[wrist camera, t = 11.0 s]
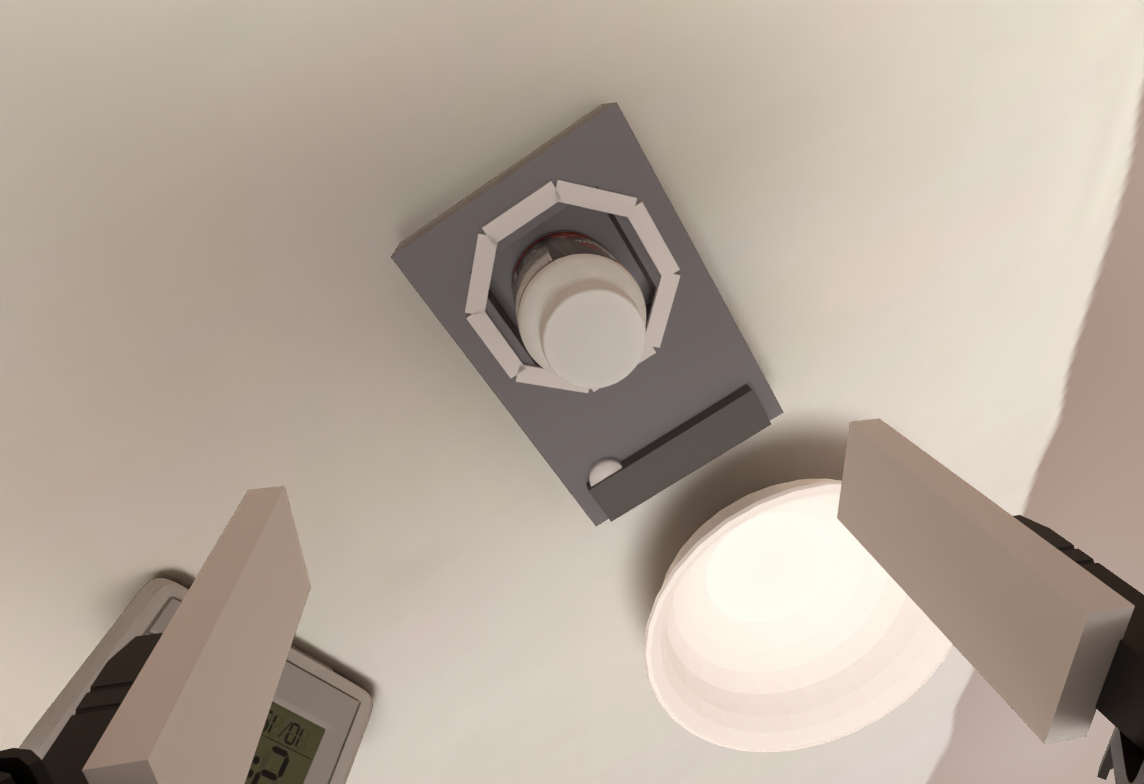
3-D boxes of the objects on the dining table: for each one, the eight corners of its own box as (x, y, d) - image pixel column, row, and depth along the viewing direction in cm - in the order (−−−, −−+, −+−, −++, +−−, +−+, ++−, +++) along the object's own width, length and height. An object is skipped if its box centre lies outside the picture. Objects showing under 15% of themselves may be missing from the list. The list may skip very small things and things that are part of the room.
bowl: (933, 601, 47) (998, 669, 41) (685, 715, 48) (714, 797, 42) (867, 375, 39) (935, 420, 33) (571, 518, 40) (587, 585, 34)
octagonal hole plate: (399, 243, 32) (388, 260, 28) (602, 104, 31) (620, 102, 27) (586, 493, 39) (598, 534, 36) (757, 387, 38) (789, 418, 34)
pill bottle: (633, 257, 33) (691, 310, 24) (584, 347, 35) (621, 428, 26) (540, 208, 32) (565, 244, 23) (492, 304, 33) (498, 374, 24)
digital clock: (389, 696, 44) (364, 861, 34) (283, 761, 45) (229, 939, 35) (207, 536, 37) (111, 682, 28) (88, 615, 38) (-45, 784, 29)
